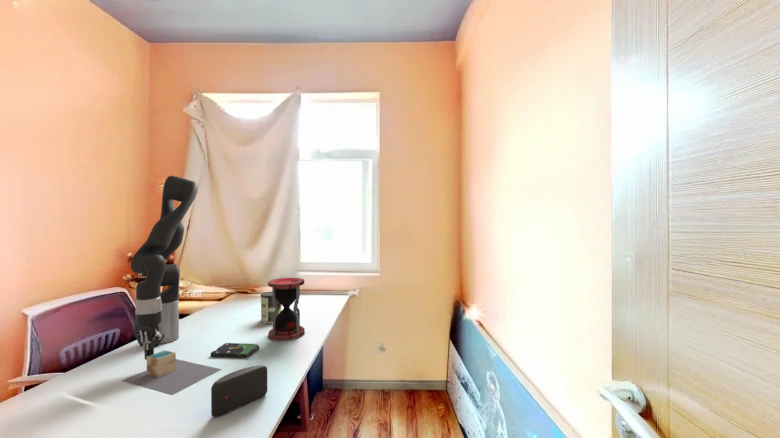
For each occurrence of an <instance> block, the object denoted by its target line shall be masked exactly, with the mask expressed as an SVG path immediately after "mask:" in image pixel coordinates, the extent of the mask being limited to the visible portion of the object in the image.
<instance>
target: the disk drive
mask: <svg viewBox="0 0 780 438" xmlns="http://www.w3.org/2000/svg"><path fill="white" fill-rule="evenodd" d="M259 350H260V345H259V344H258V343H241V342H240V343H237V342H225V343H223V344H221V345H220V346H218V347H217V348H216V350H212V351H211V352H210V358H228V359H229V358H230V359H231V358H233V359H246V360H248V358H249V359H250V358H251V357H252V356H254V354H256V353H257V352H258V351H259Z"/></svg>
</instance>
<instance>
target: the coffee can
mask: <svg viewBox="0 0 780 438" xmlns="http://www.w3.org/2000/svg"><path fill="white" fill-rule="evenodd" d="M275 303H276V305H277V302H276V299H275ZM281 311H282V305H281V304H280V309H279V311H278V314H279V313H280V312H281ZM274 315H275V307H274V306H273V303H272V291H266V292H262V293H260V321H261V323H263V324H273V316H274Z"/></svg>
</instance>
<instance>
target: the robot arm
mask: <svg viewBox="0 0 780 438" xmlns="http://www.w3.org/2000/svg"><path fill="white" fill-rule="evenodd" d="M198 189H199V186H198V183H197V182H196V181H194V180H190V179H186V178H184V177H179V176H175V175H169V176H168V177H166V179H165V180H164V183H163V188H162V194H161V197H162V198H161V209H160V210H161V211H160V217H159V219H158V220H157V222H156V223H154V225H153V227H152V228H151V231H150V232H149V235H148V237H147V239H146V241H145V242H144V243H143V244H141V246H140V247H139V249H138V250H137V251H136V252H135V254H134V255H133V256H132V259H131V261H130V270H131V271H132V272H133V273H135V274H136V275H137V274H138V275H146V277H145V280H143V281H142V280H141V281H140V282H138V283H137V284H136V287H135V288H136V289H135V294H136V295H135V299H136V300H135V326H136V327H137V328H138V330H136V331H134V332H133V334H134V337H135V339H136V341H137V343H138V345H139V347H142V348H143V350H144V360H145V361H147V356H150V355H153V354H155V350H154V349H155V348H158V347H159V346H160V344H167V343H172V342H174V341H177V340H178V339H179V338H180V336H179V334H180V332H179V331H180V323H179V322H180V321H179V319H180V318H179V317H180V310H179V309H180V308H179V295H180V294H179V293H180V277H181V276H180V275H181V273H180V268H179V266H178V264H175V263H170V264H167V263H166V261H167V260H168V258H169V257H170V256H171V255H172V254H173V253H175V251H176V250H177V249H178V248H179V247H180V246H181V244H182V242H183V239H184V233H185V226H184V223H183V221H182V220H183V219H184V217H185V215H186V214H187V213H188V211H189V209H190V208H191V206H192V204H193V203H194V200H195V199H196V197H197V194H198ZM175 202H180V203H179V205H178V206H177V207H175ZM161 287H167V288H165V289H164V290H163V291H161Z"/></svg>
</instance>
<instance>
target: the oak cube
mask: <svg viewBox="0 0 780 438" xmlns="http://www.w3.org/2000/svg"><path fill="white" fill-rule="evenodd" d="M176 354H177V353H176V352H174V351H169V350H161V351H158V352H154V354H153V355H150V356H147V360H146V370H147V374H148V375H152V376H156V377H160V376H163V375H165V374H167V373H169V372H171V371H174V370H176V359H177V358H176V357H177V355H176Z"/></svg>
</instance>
